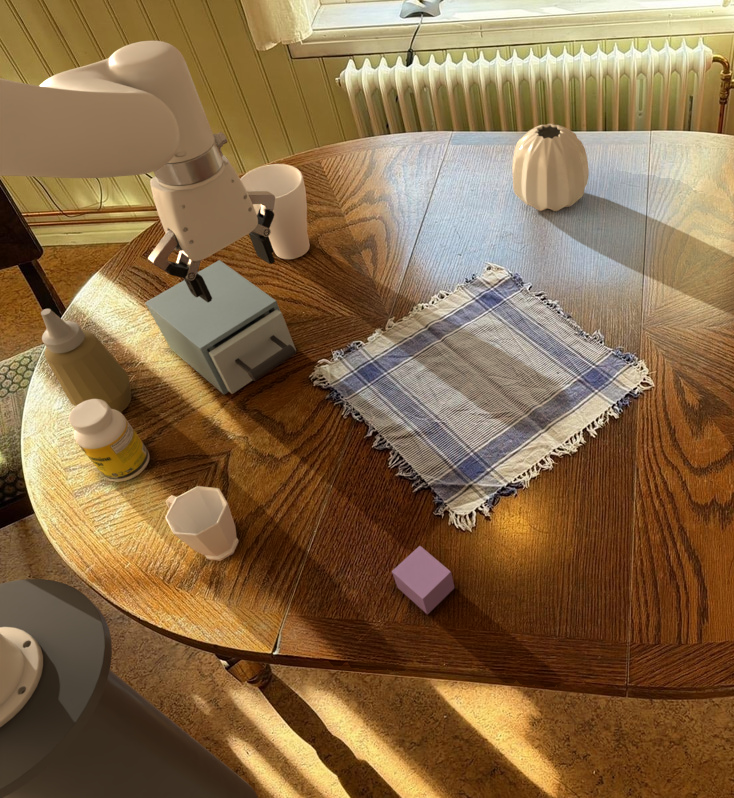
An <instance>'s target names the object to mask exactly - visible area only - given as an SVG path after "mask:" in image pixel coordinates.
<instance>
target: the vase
mask: <svg viewBox="0 0 734 798" xmlns="http://www.w3.org/2000/svg"><path fill="white" fill-rule="evenodd" d="M511 172H512V187H513V192H514V195H515V196H516V197H517V198H519V200H521V201H522V202H523V204H525V205H526V206H528V207H532V208H534V209H536V210H537V211H540V212H543V211H545V210H548V209H549V210H551V211H553V212H558V211H560V210H562V209H563V208H570V207H572V206H573V205H574V204H576V203H578V201H579V200H580V199H581V198H582V197H583V196H584V193H585V188H586V187H587V185H588V181H589V174H590V173H589V172H590V170H589V162H588V157H587V151H586V148H585V146H584V143H583V142H582V140H580V139H579V138H578V137H577V134H576V133H575V132H573V131H572V130H571V129H569V128H567V127H565V126H563V125H559V124H555V123H547V124H539V125H537V126H535V127H533V128H531V129H529V130H528V131H527V132H526V133H525V134H524V135H523V136H521V137H520V138H519V139H518V141H517V142H516V144H515V146H514V150H513V156H512V167H511Z"/></svg>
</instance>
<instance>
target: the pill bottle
mask: <svg viewBox="0 0 734 798" xmlns="http://www.w3.org/2000/svg"><path fill="white" fill-rule="evenodd" d="M68 422H69V424H70V427H72V429H73V438H74V441H75V442H76V444H77V445H78V447H79V448H80V449H81V451H82V452H83V453H84V454H85V455H86V457H88V459H89V460H90V461H91V463H92V464H93V465H94V466H95V467H96V469H97V470H98V471H99V473H100V474H101V475H102V476H103V477H104V478H105V479H107V480H109V481H111V482H117V483H118V482H119V483H120V482H121V483H122V482H126V481H129V480H131V479H133V478H136V477H137V476H139V475H140V474H141V473H142V472H143V471H144V470H145V469H146V468H147V466H148V465H149V462H150V452H149V449H148V448H147V447H146V445H145V443H144V442H143V441H142V439H141V438H140V436H139V435H138V434H137V432H136V431H135V429H134V428H133V426H132V425H131V424H130V422H129V421H128V419H127V418H126V416H125V415H124V414H123V413H122V412H121V413H120V412H119V411H117V410H115V409H111V408H110V407H109V405H108V404H107V403H106V402H105V401H103V400H101V399H90V400H87V401H84V402H82V403H80V404H78V405H77V406H74V407H73V408H72V409H71V411H70V412H69V415H68Z"/></svg>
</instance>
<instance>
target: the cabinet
mask: <svg viewBox="0 0 734 798" xmlns="http://www.w3.org/2000/svg"><path fill="white" fill-rule="evenodd" d="M197 273H198V274H199V275H201V276H202V277H203V279H204V281H205V284H206V286H207V288H208V290H209V292H210V294H211V296H212V301H210V302H206V301H205V300H204V299H202V298H201V297H197V298H196V297H195V296H194V295H193V294H192V293H191V292H190V290H189V288H188V286H187V284H186V282H185V280H184V279H183V280H182V281H181V282H178V283H177V284H175V285H173V286H172V287H170V288H168V289H166V290H164V291H163V292H161V293H159V294H158V295H155V296H154V297H152V298H150V299H149V300H147V301H145V302H144V305H145V306H146V308H147V310H148V311H149V313H150V315H151V317H152V318H153V320H154V322H155V324H156V325H157V327H158V329H159V331H160V332H161V334H162V336H163V338H164V339H165V342H166V343H167V345H168V347H169V349H170V350H171V351H172V352H174V353H175V354H176V355H177V356H178V357H180V359H182V360H183V361H184V362H185V363H186V364H187V365H189V366H190V367H191V368H192V369H193V370H195V372H197V373H198V374H199V375H200V376H201V377H202V378H204V379H205V380H206V381H207V382H209V384H211V385H212V386H213V387H214V388H215V389H217V390H218V391H219V392H220V393H221V394H222V395H226V394H227V393H230V392H229V391H228V390H227V388H226V386H225V384H224V382H223V380H222V378H221V376H220V374H219V372H218V370H217V368H216V366H215V364H214V363H213V361H212V359H211V357H210V355H209V352H208V350H207V349H208V348H210V347H212V346H213V345H215V344H216V343H218V342H220V341H221V340H223V339H224V338H226V337H227V336H229V335H231V334H232V333H234V332H235V331H237V330H239V329H240V328H242V327H243V326H245V325H246V324H248V323H250V322H251V321H253V320H254V319H256V318H258V317H259V316H261V315H262V314H264V313H265V312H267V311H269V313H272V312H274V311H275V310H279V311H280V312H281V309H280V306H279V304H278V302H277V300H276V299H275V298H273V297H272V296H271V295H269V294H268V293H267V292H265V291H264V290H262V289H261V288H259V287H258V286H256V285H255V284H254V283H252V282H251V281H250V280H248V279H247V278H245V277H244V276H243V275H241V274H240V273H239V272H237V271H236V270H234V269H233V268H231V266H229V265H227V264H226V263H224V262H223V261H222V260H220V259H219V260H217V261H216V262H214V263H212V264H210V265H207V267H205V268H203V269H201V270H198V272H197Z"/></svg>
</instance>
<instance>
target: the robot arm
mask: <svg viewBox="0 0 734 798" xmlns="http://www.w3.org/2000/svg"><path fill="white" fill-rule="evenodd" d="M225 144H228V138H227V136H226V135H225V134H224V132H222V131H220V132H218V133H213V131H212V128H211V125H210V122H209V120H208V118H207V115H206V112H205V109H204V106H203V104H202V101H201V99H200V96H199V93H198V91H197V88H196V85H195V83H194V80H193V78H192V74H191V72H190V70H189V67H188V64H187V62H186V59H185V58H184V55H183V54H182V53H181V51H180V50H179V49H178V48H177V47H175V46H174V45H173V44H171V43H168V42H166V41H162V40H143V41H137V42H133V43H130V44H126V45H124V46H122V47H120V48H118V49H116V50H115V51H114V52H113V53H112V54H111V55H109V57H108V58H105V59H102V60H99V61H96V62H93V63H90V64H86V65H83V66H79V67H74V68H72V69H71V68H70V69H68V70H65V71H61V72H59V73H55V74H54V75H52V76H50V77H48V78H47V79H45V80H44V81H43V82H41V83H40V84H39V85H36V84H30V83H25V82H21V81H20V82H19V81H15V80H11V79H5V78H2V77H0V177H4V176H5V177H35V178H36V177H37V178H53V179H54V178H55V179H57V178H58V179H104V178H105V179H106V178H116V177H130V176H131V177H132V176H141V175H142V176H143V175H147V174H151V173H152V172H153V175H154V177H152V178H150V182H149V184H150V189H151V193H152V198H153V201H154V205H155V208H156V211H157V215H158V217H159V220H160V223H161V225H162V228H163V231H164V233H165V234H164V235H163V237H162V238H161V239H160V240H159V242H158V243H157V245H156V246H155V247H154V248H153V250H152V251H151V253H150V254H149V255H148V257H147V260H148V262H150V263H151V264H152V265H154V266H155V267H157V268H158V269H160V270H162V271H163V272H165V273H167V274H168V275H170V276H173V277H177V278H181V279H183V281H184V280H185V282H186V284H187V286H188V288H189V290H190V292H191V293H192V294H193V295H194V296H195V297H196V298H197V297H201V298H202V299H204V300H205V301H206V302H210V301H212V296H211V294H210V292H209V290H208V288H207V286H206V284H205V281H204V279H203V277H202V276H201V275H199V274H198V272H199V268H200V265H201V262H202V261H203V260H205V259H207V258H209V257H211V256H213V255H215V253H218V252H219V251H221V250H223V249H225V248H226V247H228V246H230V245H232V244H233V243H235V242H237V241H239V240H241V239H243V238H244V237H246V236H247V235H248V236H249V238H250V241H251V243H252V245H253V249H254V252H255V254H256V256H257V257H258V258H260V259H261V260H263V261H264V262H266V264H269V265H273V264H274V263H275V262H276V260H275V258H274V255H273V253H275V252H274V250H273V248H272V245H271V242H270V239H269V237H268V236H269V235H270V233H271V230H270V229H269V228H270V226H271V223H272V221H273V218H274V213H273V209H274V205H275V196H274V195H273V194H271V193H270V192H267V191H246V189H245V187H244V185H243V183H242V181H241V180H240V179H241V177H240V176H239V174H238V172H237V171H236V169H235V167H234V166H233V164H232V163H231V162H230V160H229V159H228V158H227V156H226V155H224V154H223V151H222V148H223V146H224V145H225ZM253 204H261V205H260V206H261V208H260V209H259V212H258V214H256V211H255V209H254V206H253ZM174 250H175V251H178V254H177V258H176V261H169V257H170V255H171V254H172V253H173V251H174ZM42 669H43V654H42V650H41V647H40V645H39V644H38V642H37V641H36V640H35V639H34V638H33V637H32V636H31V635H29V634H28V633H26V632H25V631H23V630H20V629H17V628H12V627H0V727H2V726H3V725H4V724H5V723H7V722H8V721H9V720H11V719H12V718H13V717H14V716H15V715H16V714H17V713H18V712H19V711H20V710H21V709H22V708H23V707H24V705H25V704H26V703H27V701H28V700H29V699H30V698H31V696H32V694H33V692H34V691H35V689H36V687H37V685H38V683H39V680H40V677H41V674H42Z"/></svg>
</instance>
